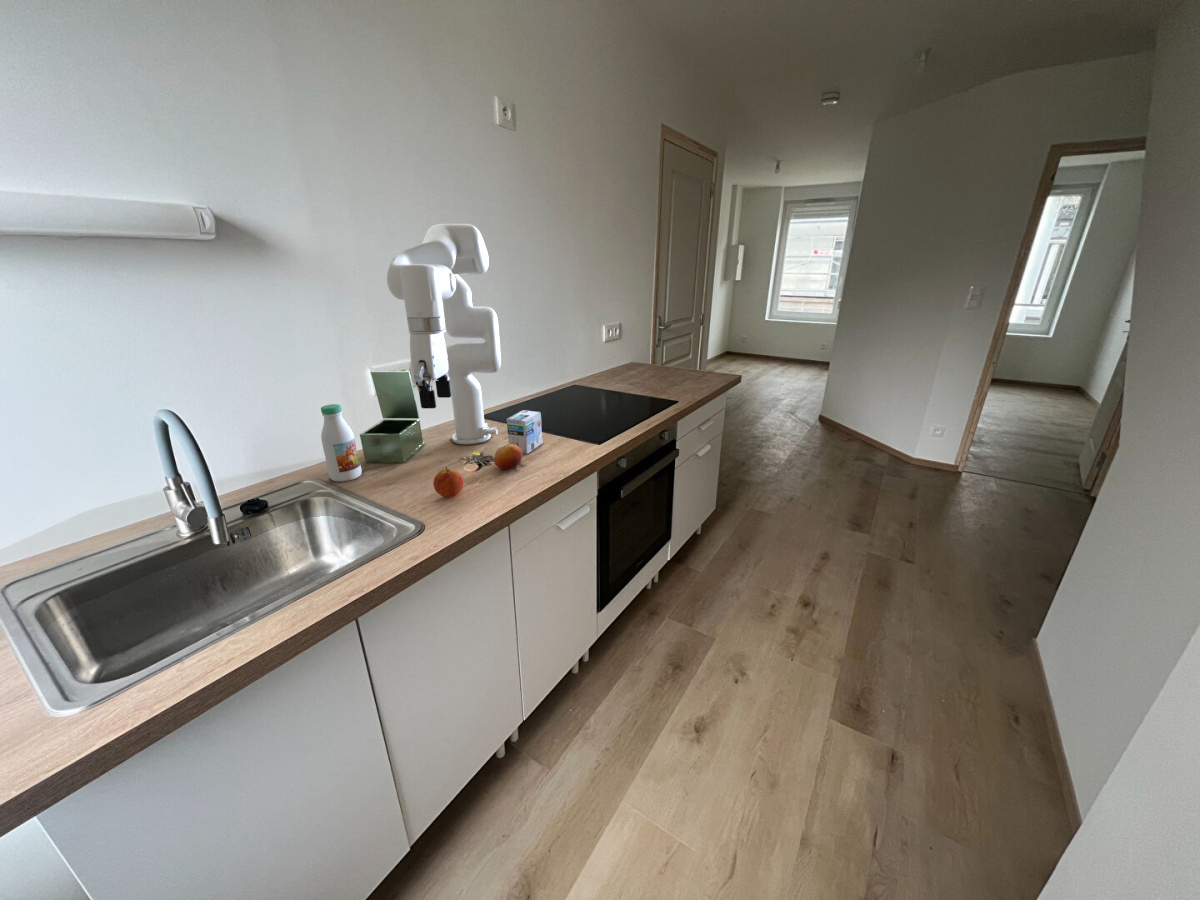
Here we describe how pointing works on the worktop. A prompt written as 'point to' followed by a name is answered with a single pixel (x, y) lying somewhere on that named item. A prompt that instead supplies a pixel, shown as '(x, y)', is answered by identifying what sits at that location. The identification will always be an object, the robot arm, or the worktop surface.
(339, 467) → the milk bottle
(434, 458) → the worktop surface
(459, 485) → the fruit
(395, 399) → the lid
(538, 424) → the light bulb box
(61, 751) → the worktop surface
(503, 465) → the fruit
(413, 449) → the bread bin
